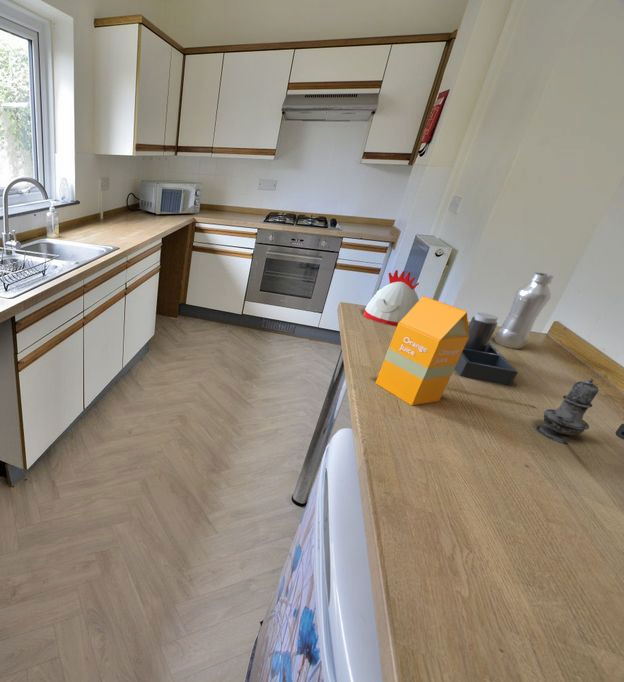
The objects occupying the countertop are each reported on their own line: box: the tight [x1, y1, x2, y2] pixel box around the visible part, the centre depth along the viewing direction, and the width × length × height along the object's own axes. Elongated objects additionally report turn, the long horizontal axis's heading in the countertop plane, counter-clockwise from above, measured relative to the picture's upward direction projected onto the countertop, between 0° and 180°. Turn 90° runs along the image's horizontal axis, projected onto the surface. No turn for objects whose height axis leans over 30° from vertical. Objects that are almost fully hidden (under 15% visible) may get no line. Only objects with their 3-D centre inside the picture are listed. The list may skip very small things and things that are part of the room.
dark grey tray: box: [454, 341, 519, 387], centre depth 98 cm, size 9×17×4 cm, turn 156°
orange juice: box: [375, 295, 469, 406], centre depth 82 cm, size 8×9×20 cm
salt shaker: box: [536, 378, 599, 445], centre depth 72 cm, size 6×6×12 cm
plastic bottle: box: [494, 272, 554, 350], centre depth 106 cm, size 6×7×20 cm
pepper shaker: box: [464, 312, 499, 352], centre depth 99 cm, size 5×5×11 cm
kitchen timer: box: [363, 269, 420, 327], centre depth 122 cm, size 14×14×15 cm
